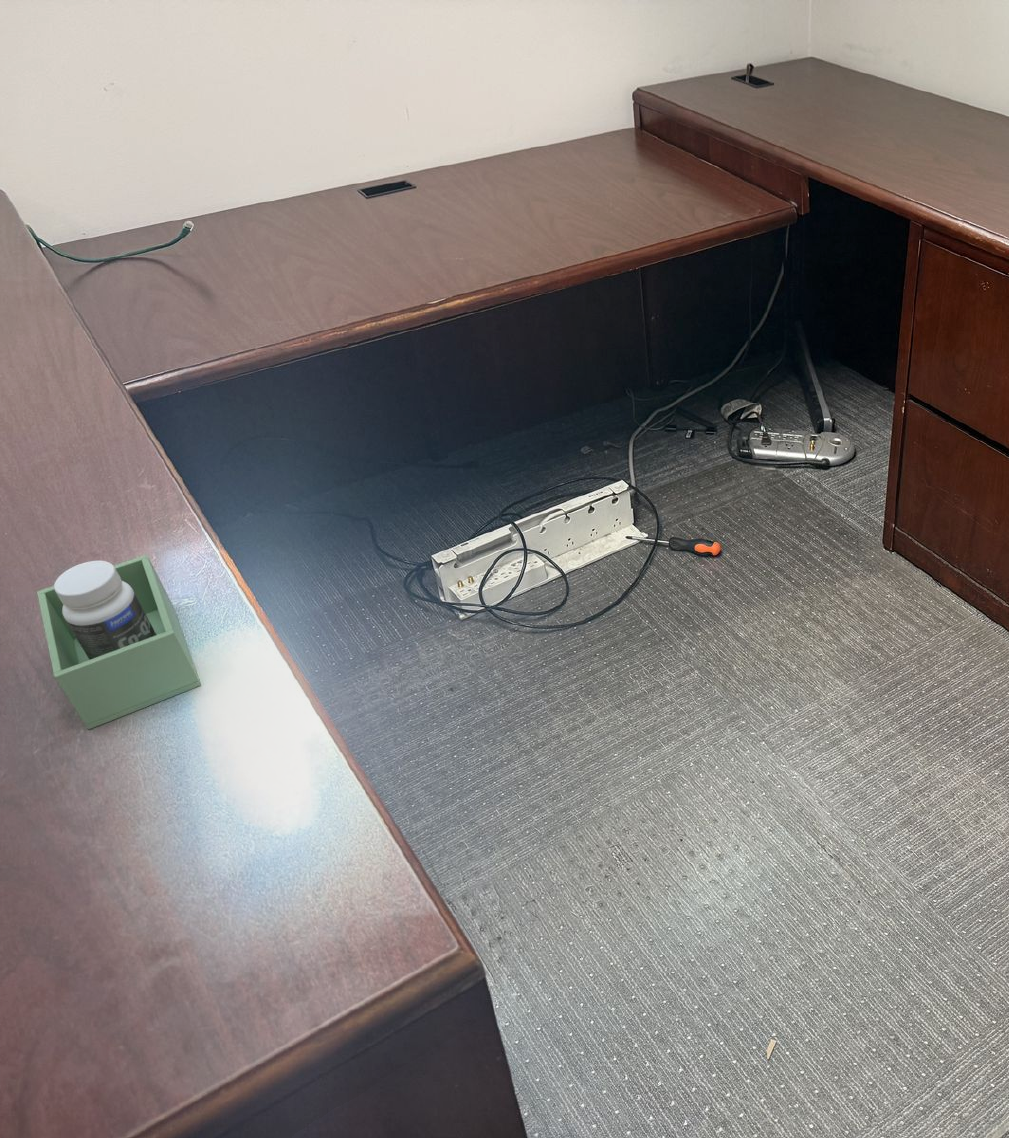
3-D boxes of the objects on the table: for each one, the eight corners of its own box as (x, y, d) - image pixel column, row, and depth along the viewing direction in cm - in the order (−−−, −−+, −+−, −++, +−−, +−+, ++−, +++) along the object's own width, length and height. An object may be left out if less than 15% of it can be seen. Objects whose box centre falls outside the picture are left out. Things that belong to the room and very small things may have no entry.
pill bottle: (146, 682, 78) (99, 599, 73) (85, 682, 78) (33, 598, 73) (175, 638, 82) (131, 556, 76) (116, 638, 82) (69, 556, 76)
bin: (201, 685, 78) (173, 632, 75) (88, 730, 75) (54, 677, 72) (173, 605, 86) (146, 554, 82) (68, 643, 82) (36, 591, 79)
